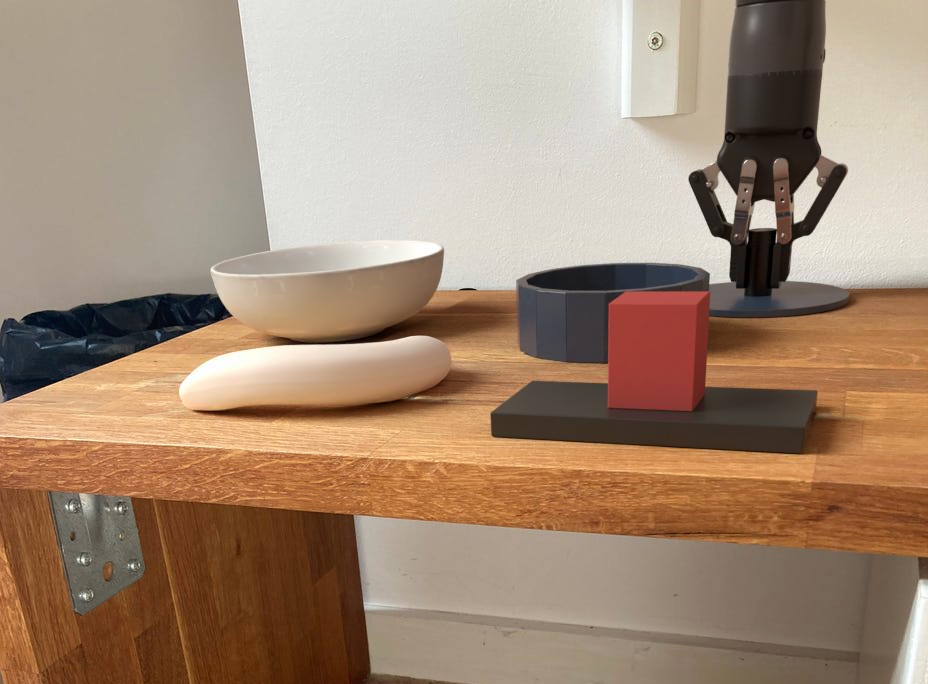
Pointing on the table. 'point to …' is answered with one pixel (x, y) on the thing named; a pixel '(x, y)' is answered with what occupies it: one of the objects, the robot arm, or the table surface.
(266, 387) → the banana
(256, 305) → the serving bowl
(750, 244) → the pot lid
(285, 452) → the table surface
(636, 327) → the red chamfered block
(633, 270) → the pot
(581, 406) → the board
